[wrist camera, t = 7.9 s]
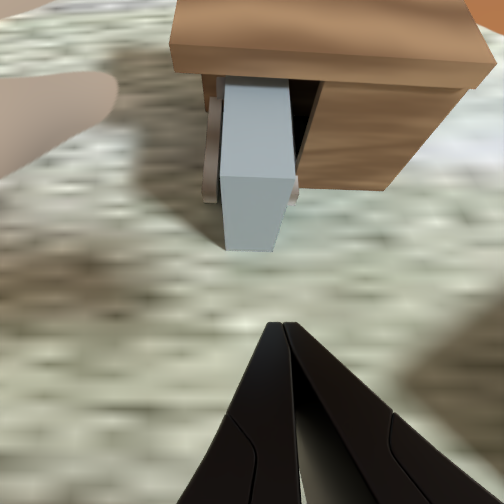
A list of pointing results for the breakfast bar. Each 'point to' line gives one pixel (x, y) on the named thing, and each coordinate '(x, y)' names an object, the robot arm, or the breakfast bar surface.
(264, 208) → the gray rectangular box
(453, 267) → the breakfast bar surface
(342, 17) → the cubby cabinet
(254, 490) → the robot arm
